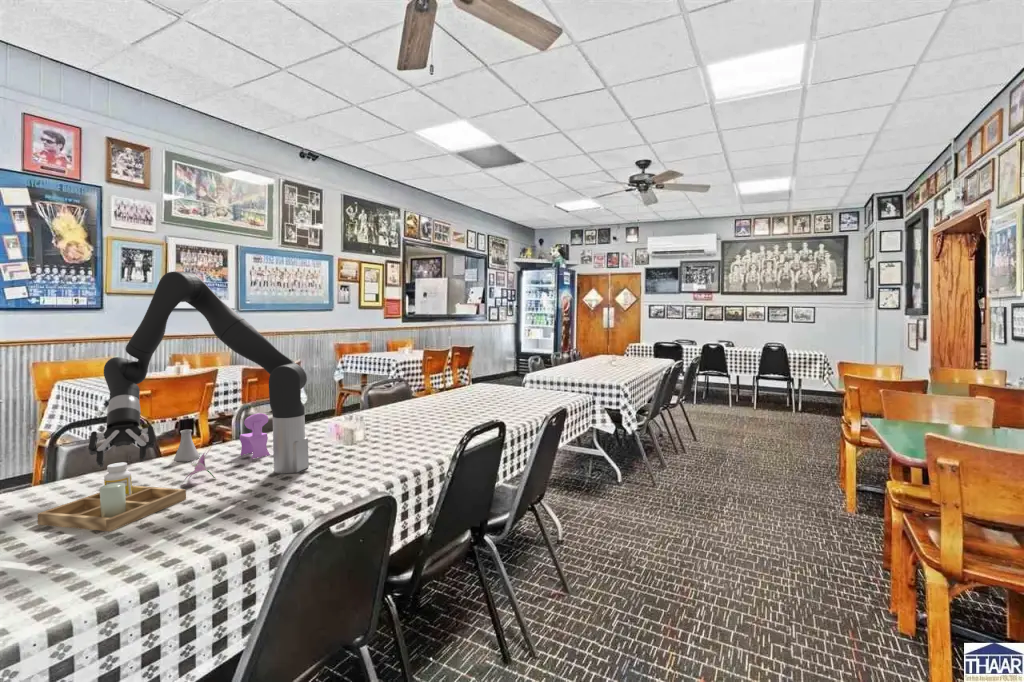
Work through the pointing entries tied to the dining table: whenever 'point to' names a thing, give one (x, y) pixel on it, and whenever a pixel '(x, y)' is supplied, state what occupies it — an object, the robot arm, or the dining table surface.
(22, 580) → the dining table surface
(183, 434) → the flask
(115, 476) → the supplement bottle
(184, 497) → the caddy
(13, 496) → the dining table surface
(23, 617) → the dining table surface
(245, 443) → the toy chair
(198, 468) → the lily
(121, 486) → the cylinder
